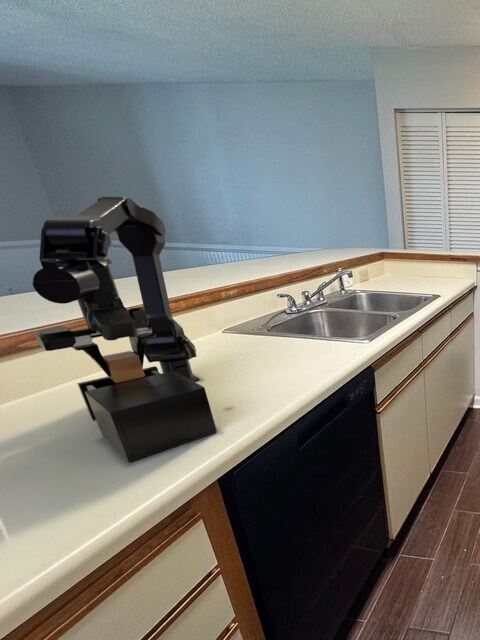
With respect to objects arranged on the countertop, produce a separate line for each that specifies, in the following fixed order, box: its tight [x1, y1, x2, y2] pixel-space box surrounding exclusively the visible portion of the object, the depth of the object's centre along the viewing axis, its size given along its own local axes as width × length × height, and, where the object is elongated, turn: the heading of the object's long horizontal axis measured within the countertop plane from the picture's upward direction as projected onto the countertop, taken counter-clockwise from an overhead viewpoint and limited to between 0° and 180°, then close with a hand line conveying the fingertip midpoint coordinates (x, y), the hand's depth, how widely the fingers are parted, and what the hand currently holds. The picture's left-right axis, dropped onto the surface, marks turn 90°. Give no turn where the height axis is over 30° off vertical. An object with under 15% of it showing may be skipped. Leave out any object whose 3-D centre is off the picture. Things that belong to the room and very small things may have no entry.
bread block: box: [102, 350, 145, 383], centre depth 82 cm, size 4×4×4 cm
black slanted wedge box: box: [85, 371, 218, 464], centre depth 79 cm, size 15×14×10 cm
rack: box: [77, 365, 162, 422], centre depth 85 cm, size 15×12×8 cm
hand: (125, 372), depth 83 cm, fingers closed on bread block, 4 cm apart
